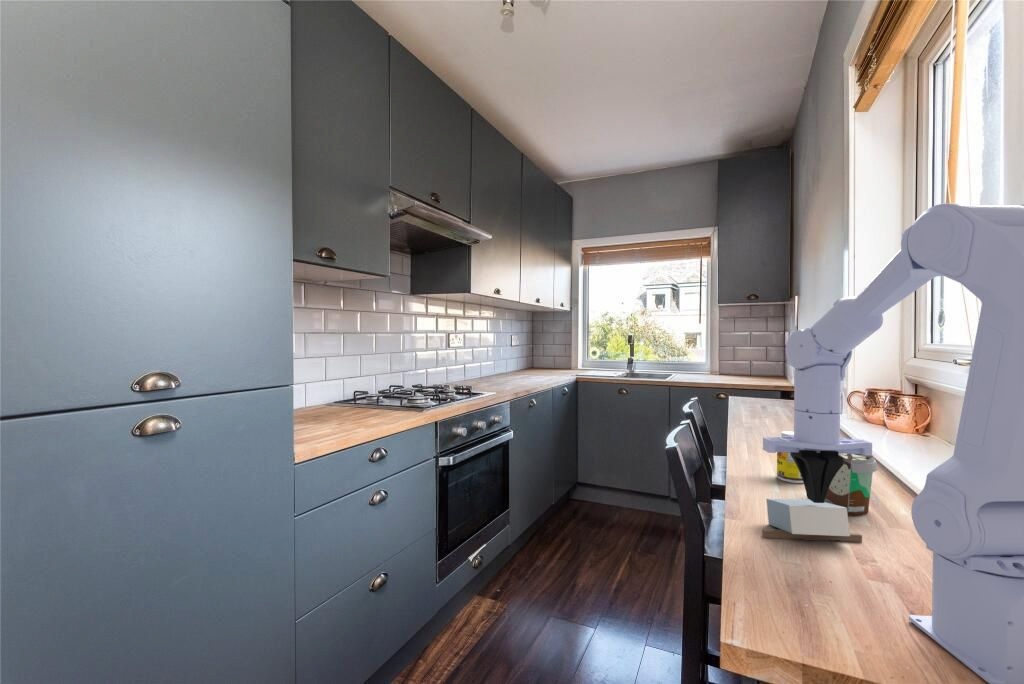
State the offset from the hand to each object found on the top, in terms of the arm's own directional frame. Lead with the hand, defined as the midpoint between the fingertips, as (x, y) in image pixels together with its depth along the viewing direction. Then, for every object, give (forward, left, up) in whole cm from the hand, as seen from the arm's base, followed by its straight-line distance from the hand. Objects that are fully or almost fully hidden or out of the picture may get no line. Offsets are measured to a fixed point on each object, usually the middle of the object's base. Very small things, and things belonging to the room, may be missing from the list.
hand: (815, 500), depth 67 cm
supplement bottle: (+30, -12, -6) cm, 33 cm away
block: (-1, 0, -3) cm, 3 cm away
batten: (+1, 0, -6) cm, 6 cm away
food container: (+15, -15, -6) cm, 22 cm away
